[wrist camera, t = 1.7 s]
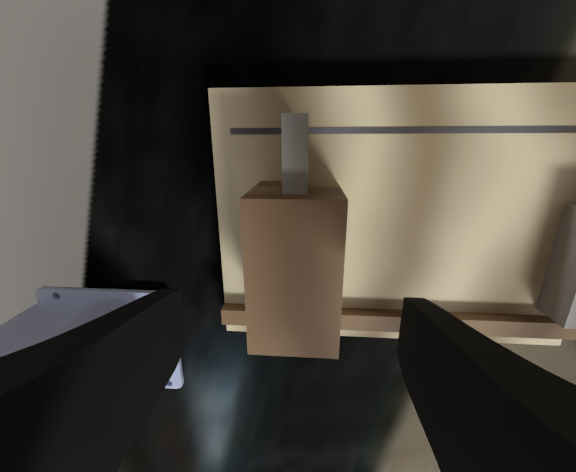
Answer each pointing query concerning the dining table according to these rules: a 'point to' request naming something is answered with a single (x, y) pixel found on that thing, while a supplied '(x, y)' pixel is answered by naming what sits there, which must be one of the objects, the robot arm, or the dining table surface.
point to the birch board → (422, 198)
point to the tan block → (294, 256)
